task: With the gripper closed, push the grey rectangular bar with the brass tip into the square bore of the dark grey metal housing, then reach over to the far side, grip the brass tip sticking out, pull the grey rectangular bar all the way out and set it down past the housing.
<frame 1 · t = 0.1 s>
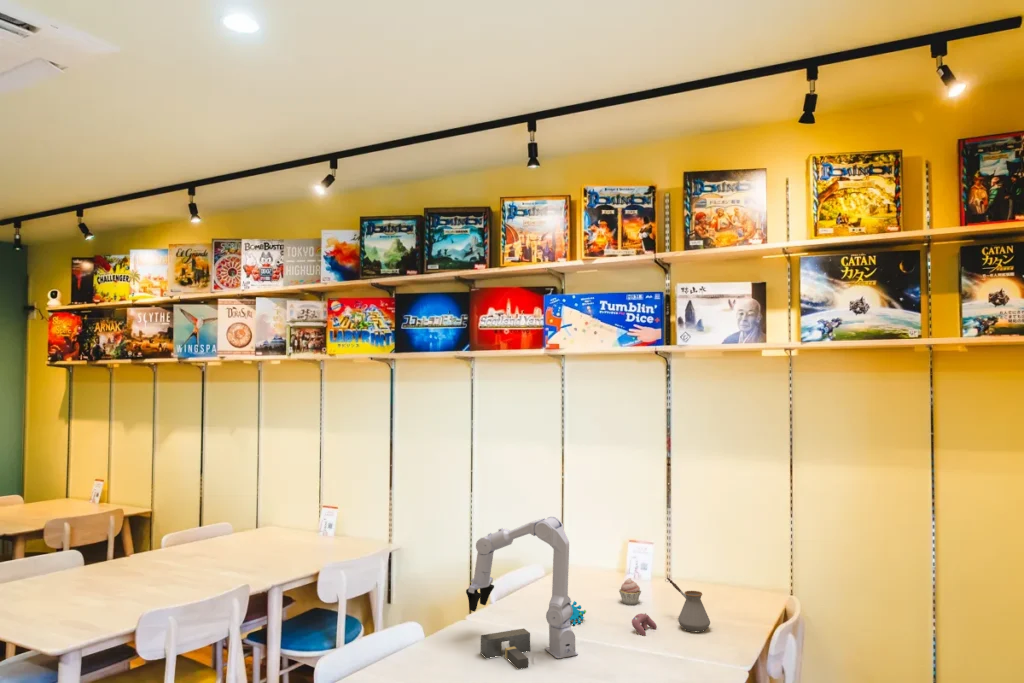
hand: (477, 607, 244), 11 cm above the table, tool pointing down, fingers open, 7 cm apart
spiky virus model: (572, 623, 259), on the table
grey rectangular bar: (516, 662, 221), on the table
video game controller: (644, 631, 249), on the table
housing: (505, 652, 229), on the table
cupcake: (630, 603, 282), on the table
coffee pot: (685, 625, 255), on the table
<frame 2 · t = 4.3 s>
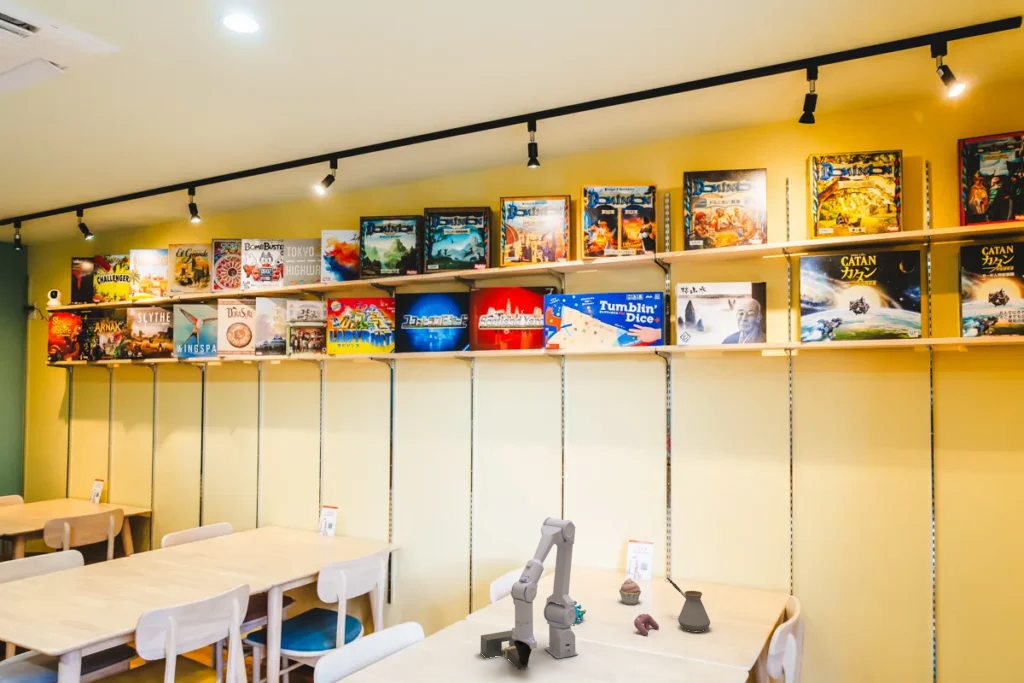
hand: (524, 664, 216), 1 cm above the table, tool pointing down, fingers closed
grey rectangular bar: (516, 661, 221), on the table, touching gripper
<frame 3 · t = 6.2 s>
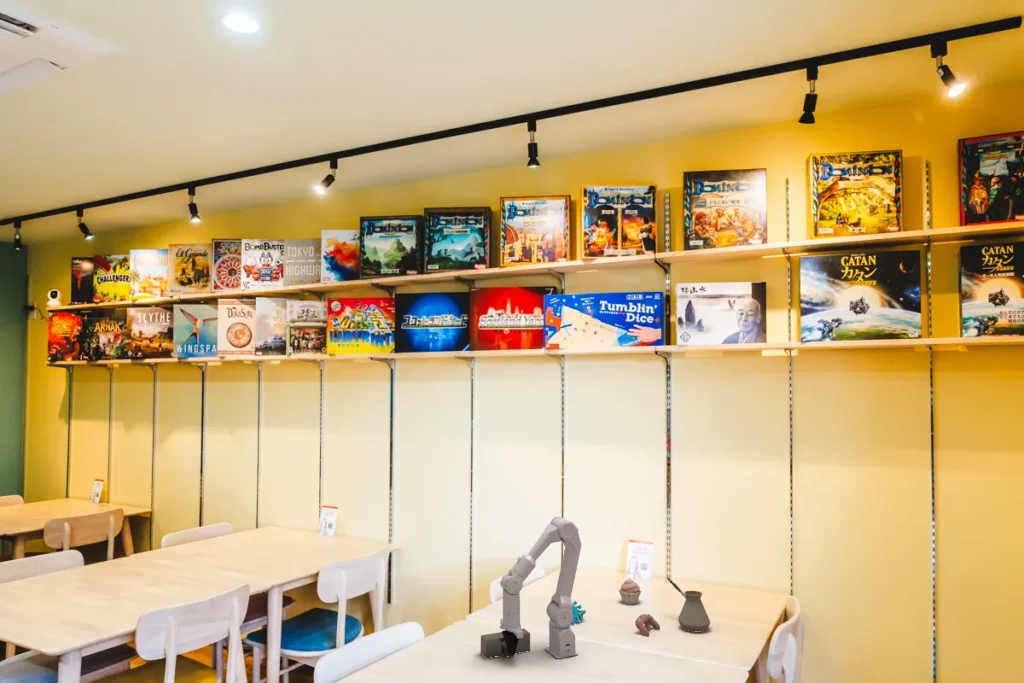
hand: (511, 653, 225), 1 cm above the table, tool pointing down, fingers closed
grey rectangular bar: (503, 651, 231), on the table, touching gripper
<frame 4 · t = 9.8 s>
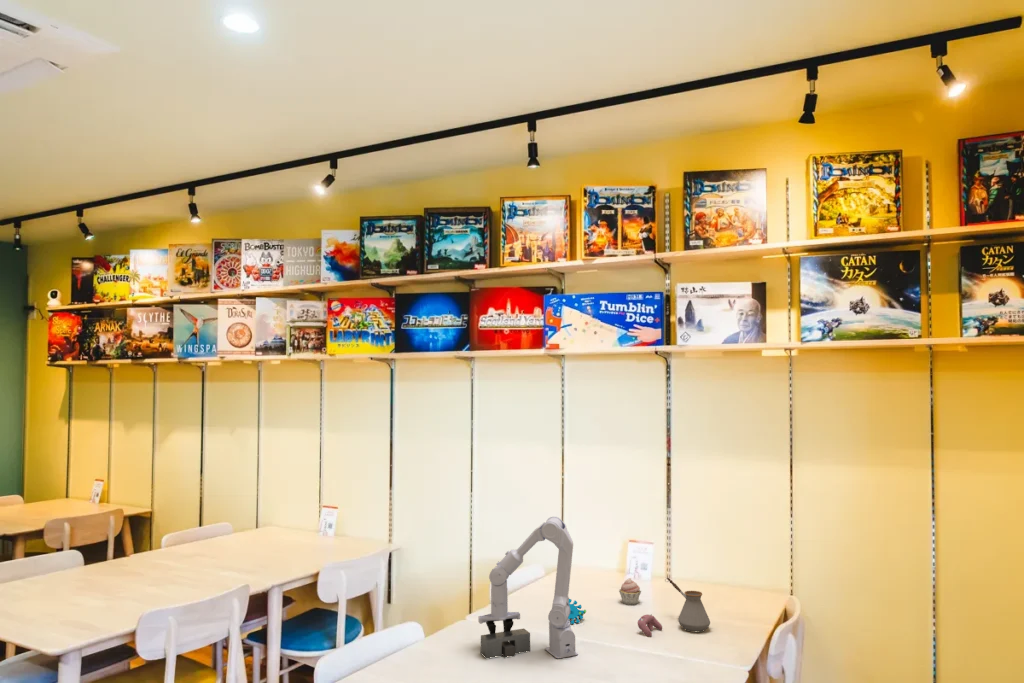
hand: (499, 642, 234), 2 cm above the table, tool pointing down, fingers closed on grey rectangular bar, 4 cm apart
grey rectangular bar: (503, 651, 231), on the table, touching gripper
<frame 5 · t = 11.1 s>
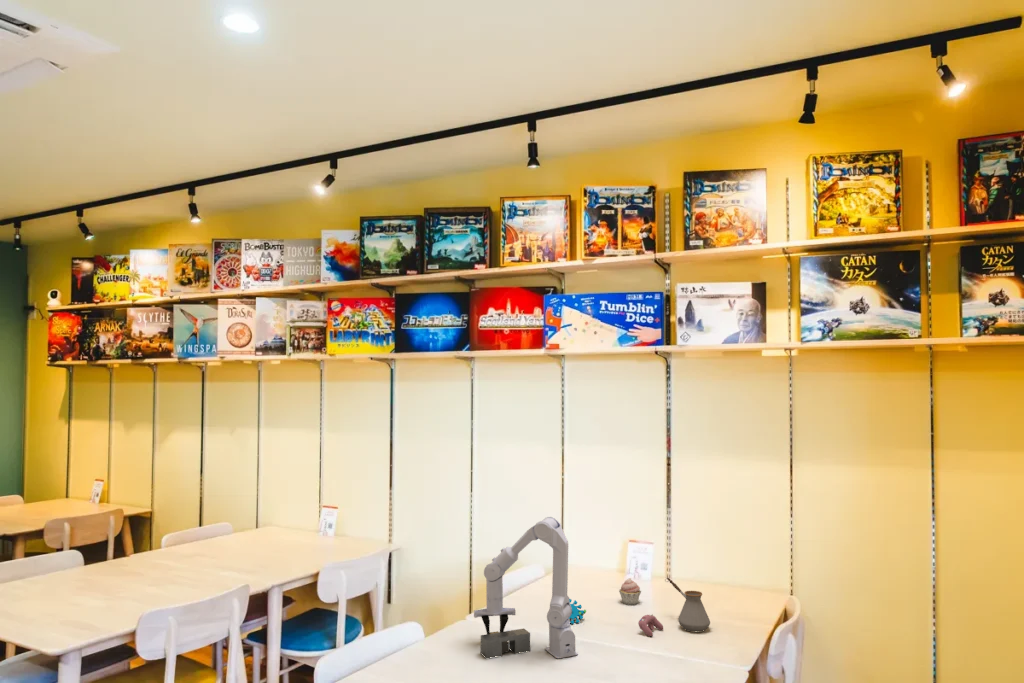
hand: (494, 637, 238), 2 cm above the table, tool pointing down, fingers closed on grey rectangular bar, 4 cm apart
grey rectangular bar: (498, 646, 234), on the table, touching gripper
when the fingers open (8 cm above the table, at t = 12.5 s): grey rectangular bar moves 1 cm, point 2 cm above the table.
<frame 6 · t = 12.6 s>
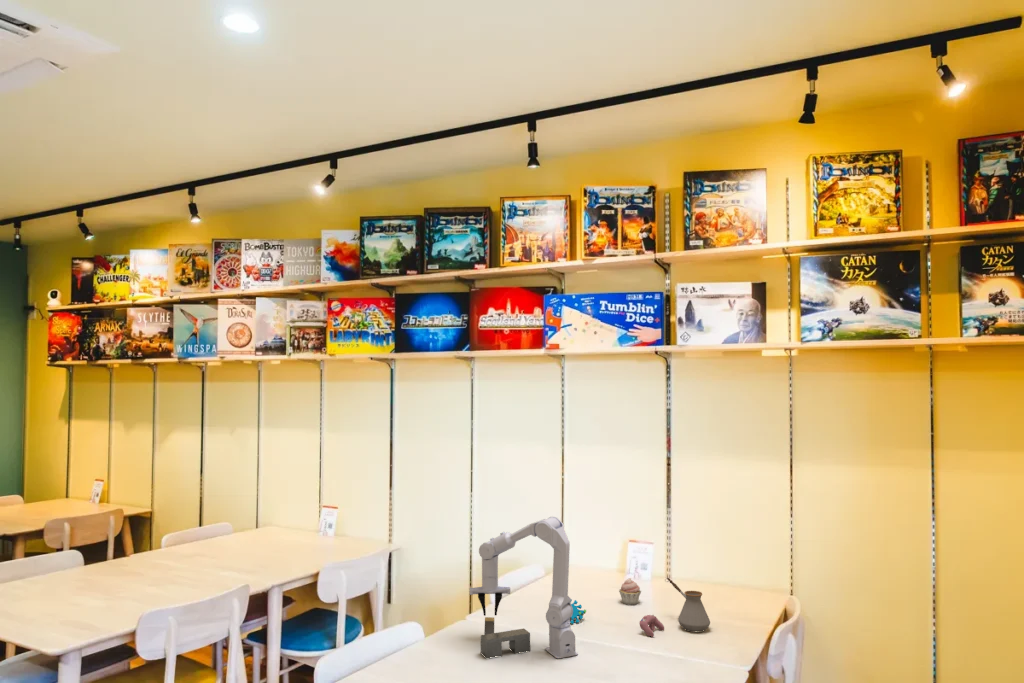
hand: (490, 614, 243), 8 cm above the table, tool pointing down, fingers open, 3 cm apart
grey rectangular bar: (489, 635, 240), point 2 cm above the table, tilted 21°
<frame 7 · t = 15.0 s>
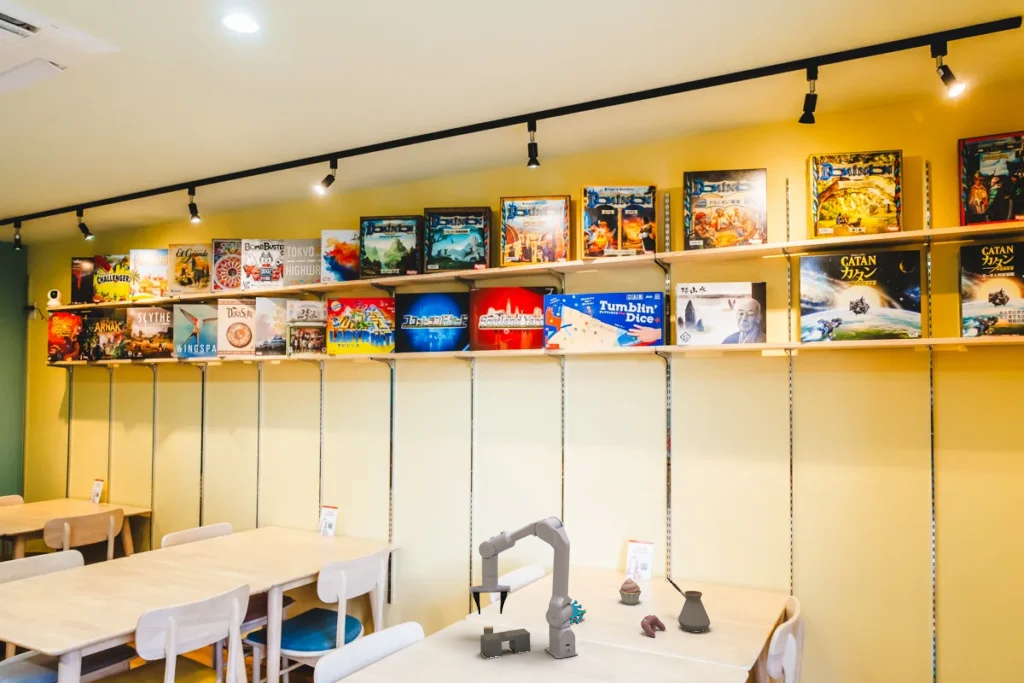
hand: (490, 613, 243), 9 cm above the table, tool pointing down, fingers open, 7 cm apart
grey rectangular bar: (488, 640, 241), on the table
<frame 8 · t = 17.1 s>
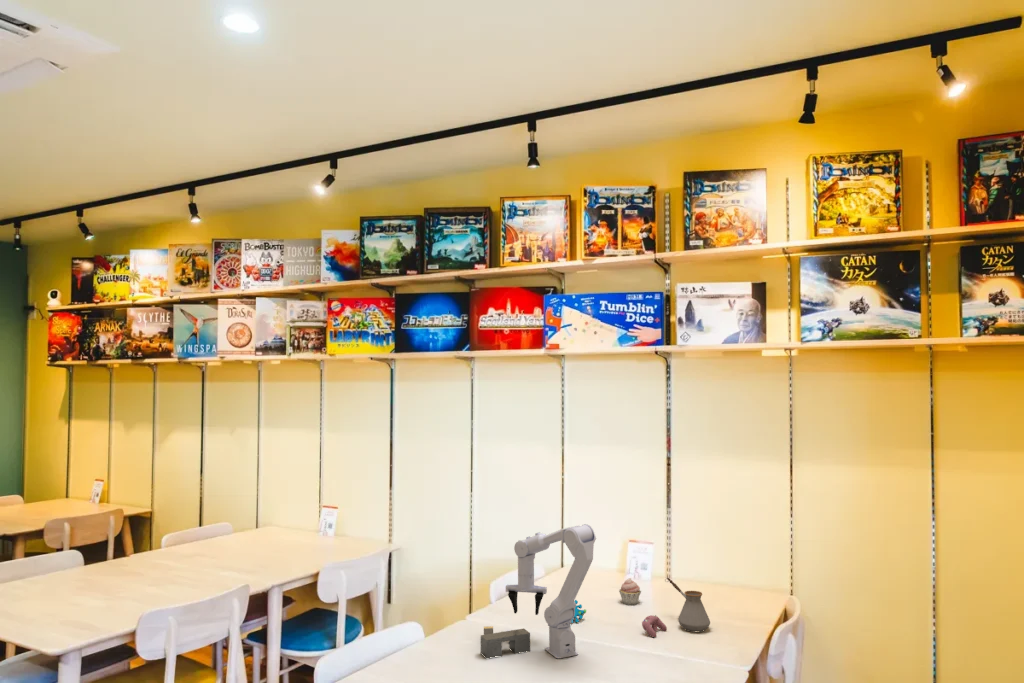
hand: (526, 613, 241), 9 cm above the table, tool pointing down, fingers open, 7 cm apart
at the end: grey rectangular bar inside the target area (1.2 cm from its centre), on the table; the gripper is holding nothing; grey rectangular bar tilted 0° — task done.
